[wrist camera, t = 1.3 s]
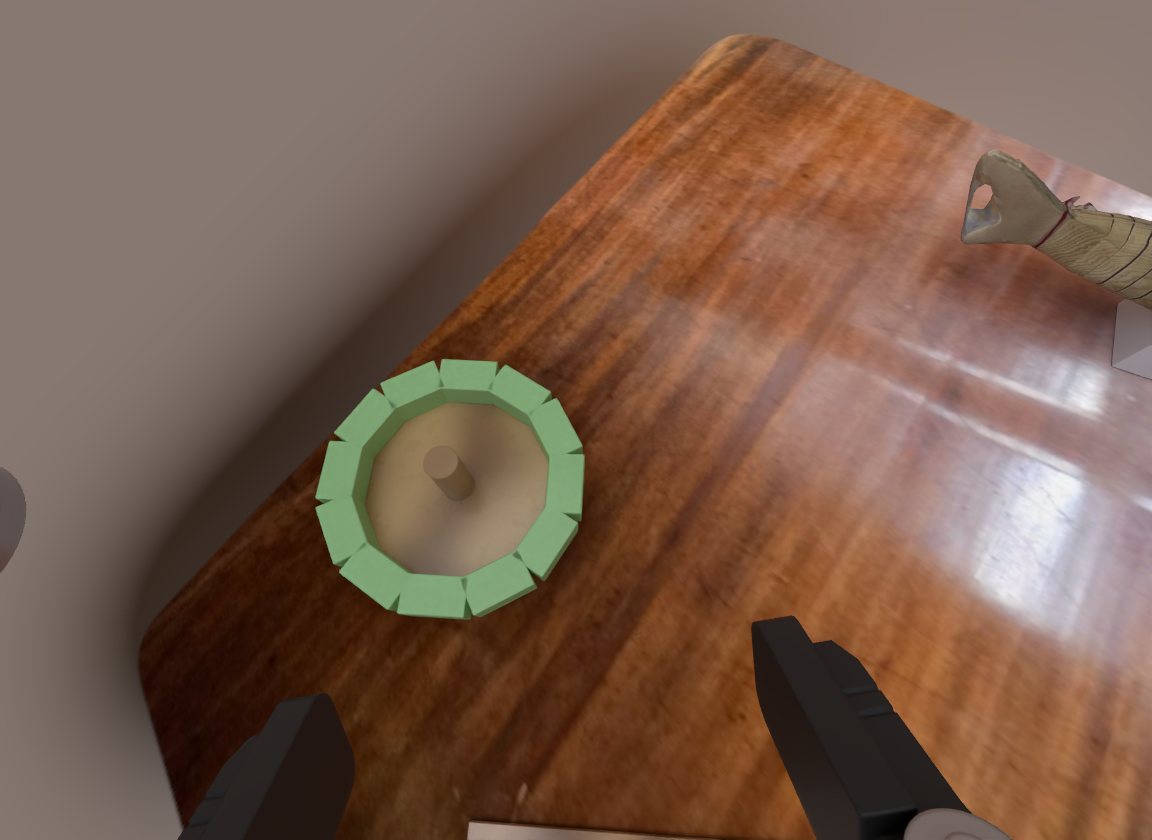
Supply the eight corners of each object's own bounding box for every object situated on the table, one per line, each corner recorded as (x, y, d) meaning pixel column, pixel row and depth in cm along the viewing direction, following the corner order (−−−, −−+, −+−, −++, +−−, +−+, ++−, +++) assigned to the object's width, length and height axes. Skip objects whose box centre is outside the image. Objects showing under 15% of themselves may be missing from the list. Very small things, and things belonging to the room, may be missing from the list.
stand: (374, 591, 35) (300, 571, 26) (407, 424, 40) (353, 356, 30) (554, 602, 35) (544, 587, 25) (566, 433, 39) (561, 366, 30)
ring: (305, 609, 29) (287, 606, 28) (362, 369, 35) (350, 354, 33) (575, 626, 29) (574, 625, 27) (589, 380, 35) (590, 365, 33)
